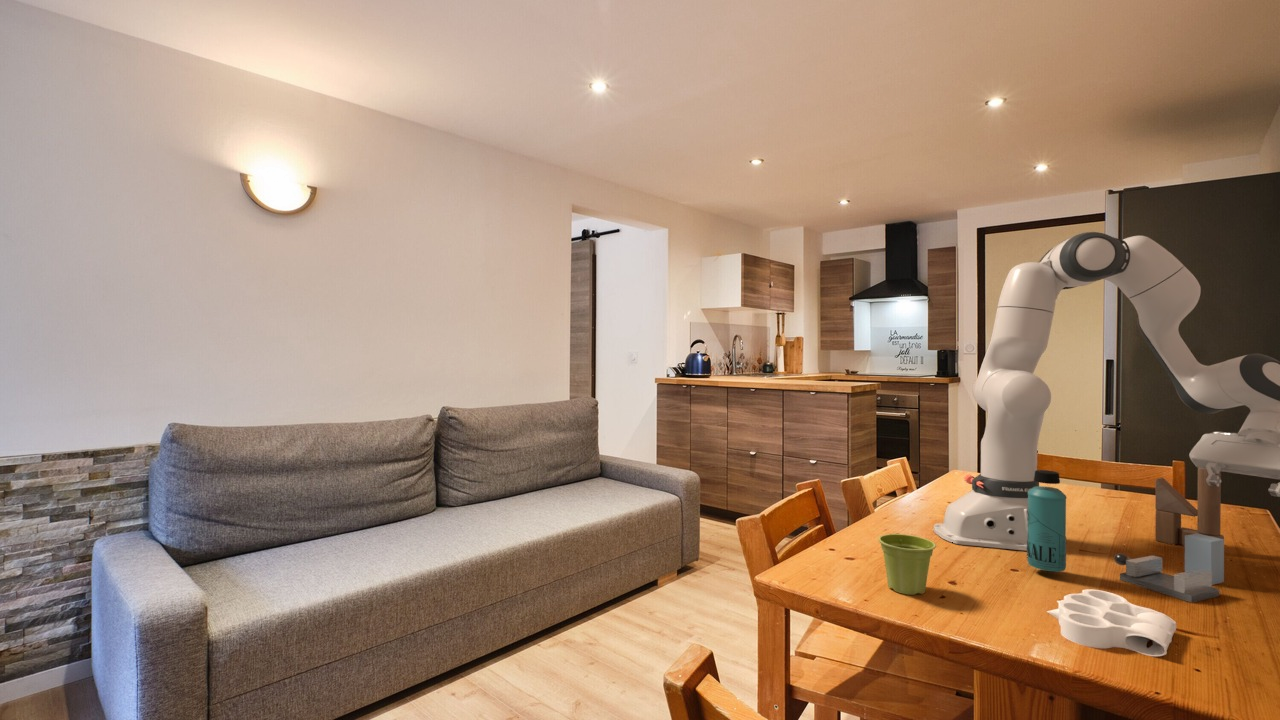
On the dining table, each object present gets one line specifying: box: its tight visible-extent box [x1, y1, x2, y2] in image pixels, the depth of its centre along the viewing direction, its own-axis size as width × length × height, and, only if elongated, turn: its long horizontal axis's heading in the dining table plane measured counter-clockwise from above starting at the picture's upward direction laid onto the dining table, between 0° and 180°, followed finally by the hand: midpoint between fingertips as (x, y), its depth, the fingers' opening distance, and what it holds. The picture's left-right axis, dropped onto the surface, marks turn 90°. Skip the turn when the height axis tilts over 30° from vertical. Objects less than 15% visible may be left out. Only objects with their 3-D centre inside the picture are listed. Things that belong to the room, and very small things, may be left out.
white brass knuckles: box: [1046, 588, 1177, 658], centre depth 91 cm, size 3×18×15 cm
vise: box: [1119, 569, 1220, 603], centre depth 107 cm, size 8×11×4 cm
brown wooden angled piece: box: [1154, 468, 1225, 547], centre depth 131 cm, size 4×11×18 cm, turn 29°
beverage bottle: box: [1026, 469, 1067, 572], centre depth 114 cm, size 6×7×20 cm
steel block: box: [1184, 533, 1225, 586], centre depth 111 cm, size 4×4×8 cm
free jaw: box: [1113, 553, 1163, 577], centre depth 113 cm, size 8×6×3 cm
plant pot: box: [878, 533, 936, 596], centre depth 107 cm, size 9×9×9 cm
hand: (1242, 489), depth 115 cm, fingers open, 8 cm apart
